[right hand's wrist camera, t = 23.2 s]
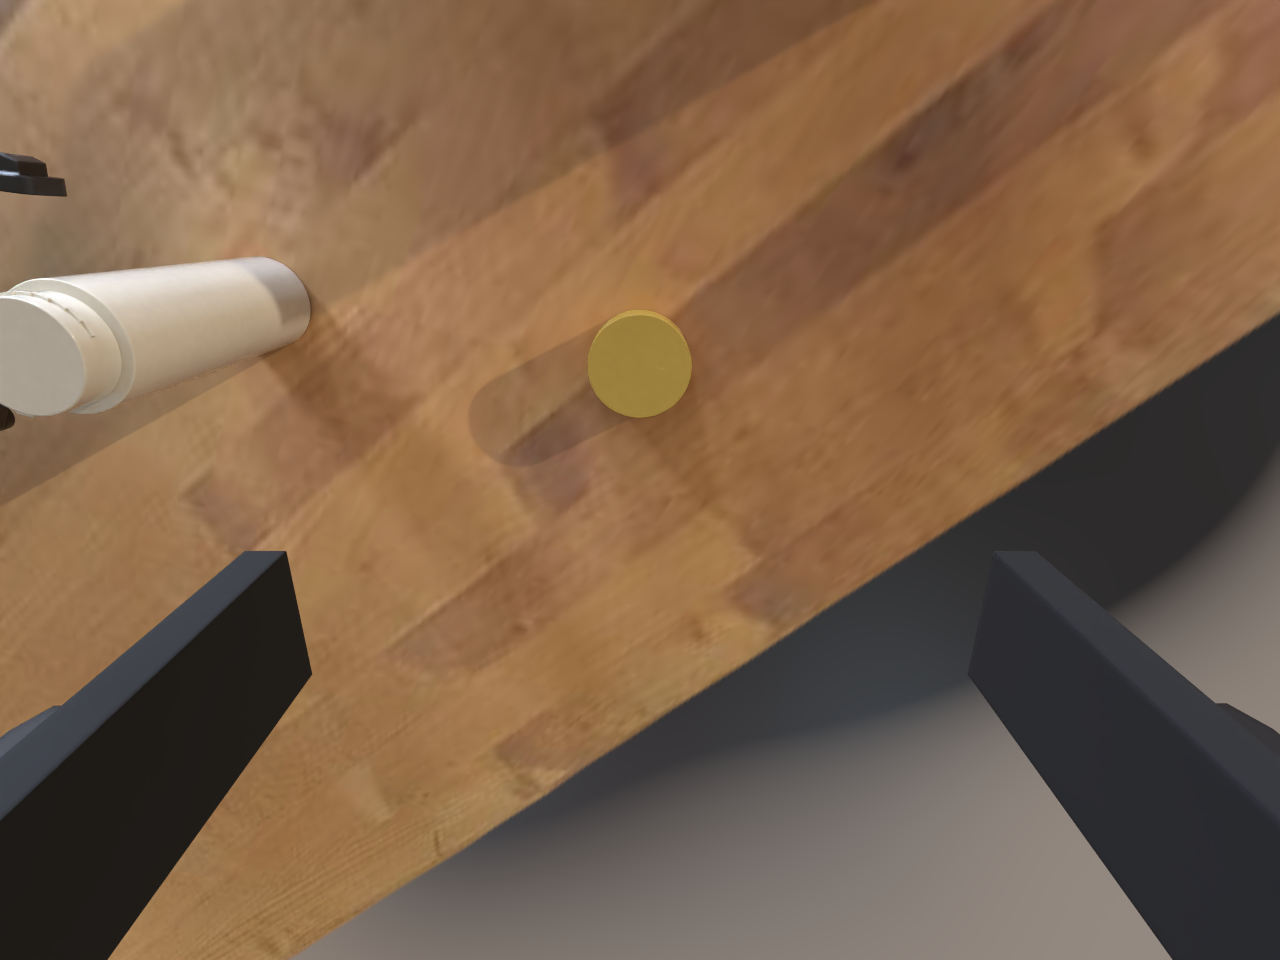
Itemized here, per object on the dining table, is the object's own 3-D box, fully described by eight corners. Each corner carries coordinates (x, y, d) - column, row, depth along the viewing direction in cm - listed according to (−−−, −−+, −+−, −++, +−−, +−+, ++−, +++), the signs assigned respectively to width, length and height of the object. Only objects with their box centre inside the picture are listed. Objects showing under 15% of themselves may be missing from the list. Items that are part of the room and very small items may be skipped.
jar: (227, 243, 35) (-56, 260, 21) (318, 275, 35) (103, 313, 21) (215, 329, 36) (-55, 401, 22) (302, 359, 37) (93, 447, 23)
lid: (678, 416, 38) (679, 426, 36) (582, 399, 38) (579, 408, 36) (698, 320, 36) (702, 325, 34) (598, 300, 36) (596, 305, 34)
